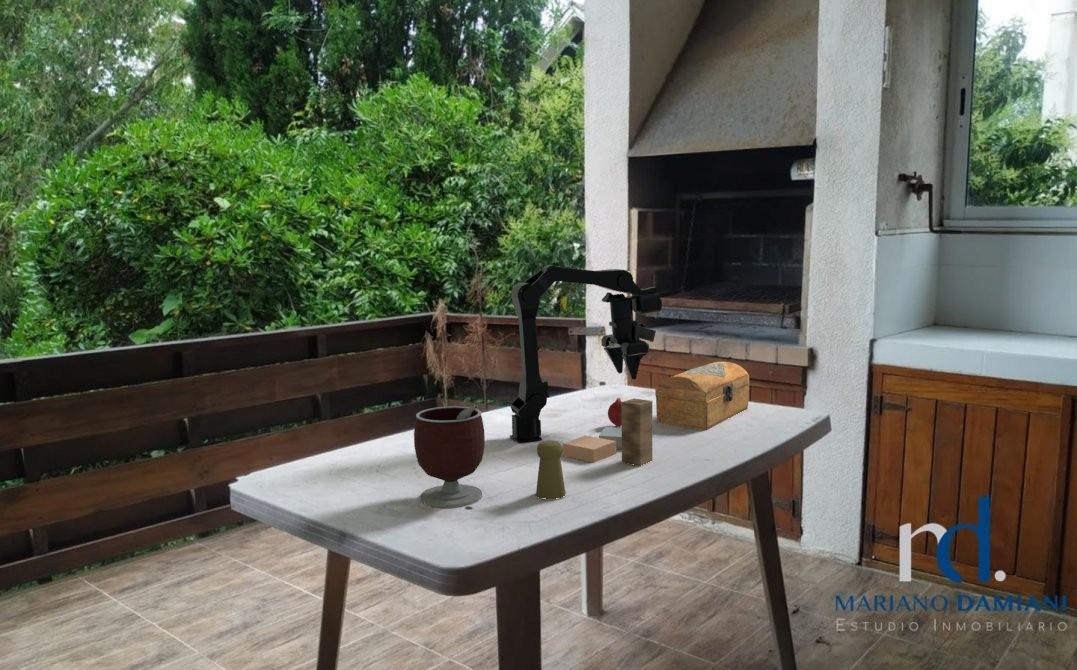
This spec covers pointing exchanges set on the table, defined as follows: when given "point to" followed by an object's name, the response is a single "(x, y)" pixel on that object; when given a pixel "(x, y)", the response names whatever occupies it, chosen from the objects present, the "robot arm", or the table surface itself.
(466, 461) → the mate gourd
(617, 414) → the onion
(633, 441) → the walnut pillar
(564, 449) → the terracotta slab
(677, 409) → the wooden box
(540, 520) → the table surface
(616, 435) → the stone slab
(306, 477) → the table surface
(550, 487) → the olive green game pawn
